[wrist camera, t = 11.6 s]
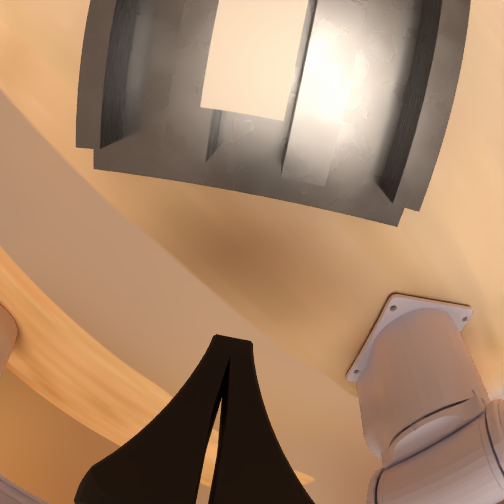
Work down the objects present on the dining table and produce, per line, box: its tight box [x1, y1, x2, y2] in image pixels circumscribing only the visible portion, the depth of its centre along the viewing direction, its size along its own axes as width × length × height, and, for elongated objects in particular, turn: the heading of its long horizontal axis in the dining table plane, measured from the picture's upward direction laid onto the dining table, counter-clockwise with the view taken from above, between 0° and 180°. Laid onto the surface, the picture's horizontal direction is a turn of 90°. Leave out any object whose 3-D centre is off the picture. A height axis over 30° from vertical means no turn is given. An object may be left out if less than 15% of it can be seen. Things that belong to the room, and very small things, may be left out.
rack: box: [76, 0, 471, 227], centre depth 12 cm, size 16×18×4 cm
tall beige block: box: [200, 0, 308, 121], centre depth 10 cm, size 6×2×7 cm, turn 170°
